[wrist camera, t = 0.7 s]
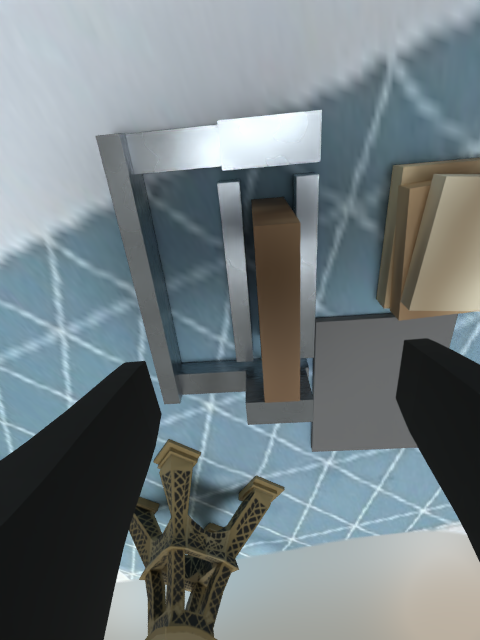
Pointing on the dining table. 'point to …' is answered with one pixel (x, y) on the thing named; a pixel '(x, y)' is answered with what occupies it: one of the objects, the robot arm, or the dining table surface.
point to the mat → (364, 379)
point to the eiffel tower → (190, 549)
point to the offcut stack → (432, 240)
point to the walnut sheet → (278, 296)
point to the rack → (144, 261)
